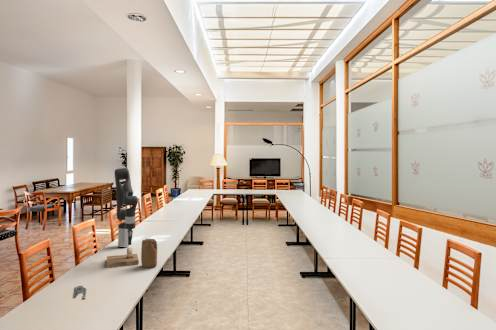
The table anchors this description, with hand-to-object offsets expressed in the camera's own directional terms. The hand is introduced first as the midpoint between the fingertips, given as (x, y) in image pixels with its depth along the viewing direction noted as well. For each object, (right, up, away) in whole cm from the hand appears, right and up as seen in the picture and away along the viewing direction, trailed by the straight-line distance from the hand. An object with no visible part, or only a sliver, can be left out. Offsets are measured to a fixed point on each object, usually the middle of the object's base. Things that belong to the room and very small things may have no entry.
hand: (129, 244), depth 242 cm
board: (-5, -13, -2) cm, 14 cm away
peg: (0, -13, 0) cm, 13 cm away
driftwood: (-8, -15, -57) cm, 60 cm away
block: (+18, -14, -9) cm, 25 cm away
